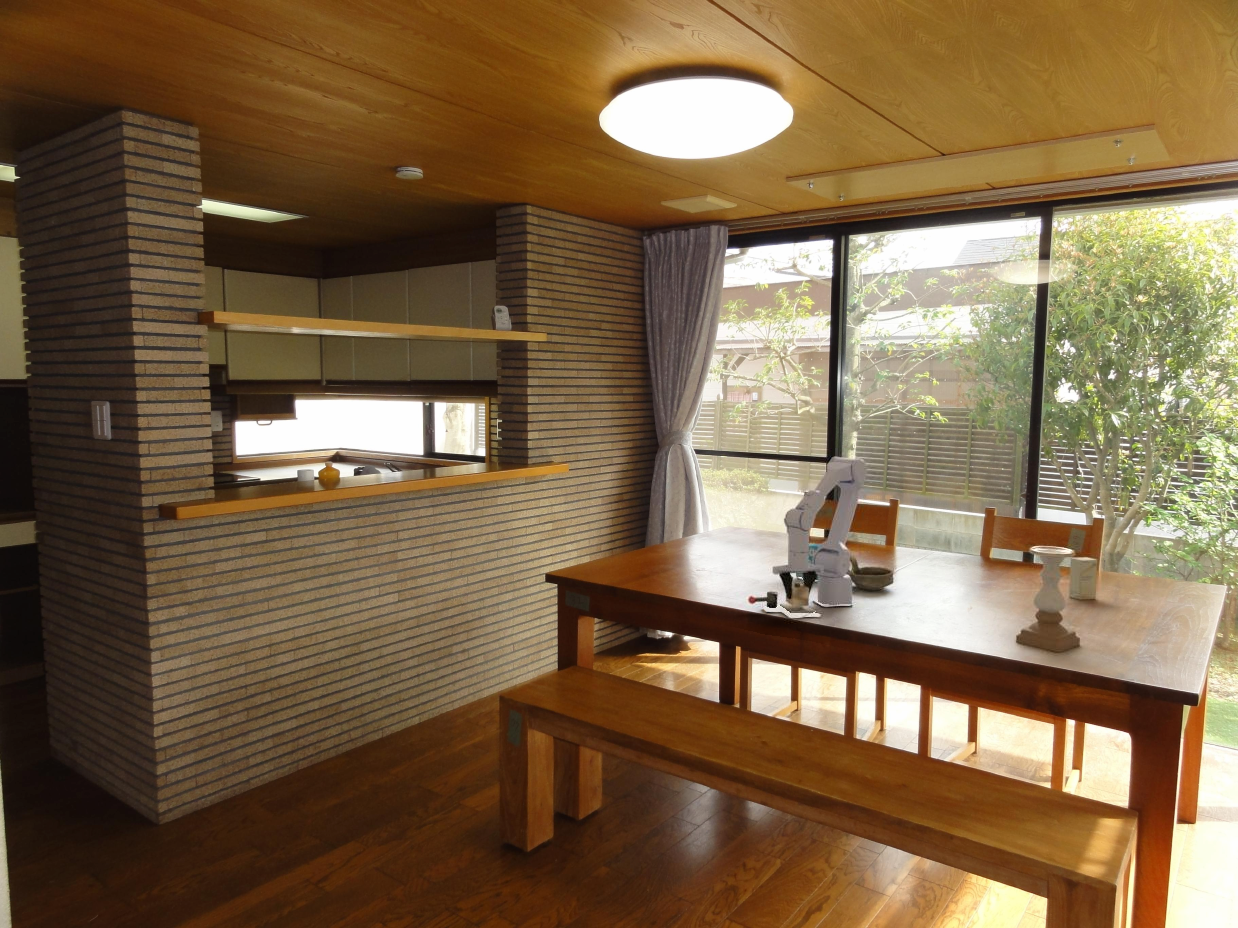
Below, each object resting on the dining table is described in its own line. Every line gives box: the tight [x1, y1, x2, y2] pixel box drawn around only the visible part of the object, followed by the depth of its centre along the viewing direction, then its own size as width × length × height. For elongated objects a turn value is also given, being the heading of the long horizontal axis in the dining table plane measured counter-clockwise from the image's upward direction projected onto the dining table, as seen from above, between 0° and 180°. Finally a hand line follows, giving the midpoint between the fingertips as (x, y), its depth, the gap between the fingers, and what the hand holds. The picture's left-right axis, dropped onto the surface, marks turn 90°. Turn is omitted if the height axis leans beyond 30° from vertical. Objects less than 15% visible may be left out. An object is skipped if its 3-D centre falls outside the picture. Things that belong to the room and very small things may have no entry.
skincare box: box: [1068, 556, 1098, 601], centre depth 252 cm, size 6×4×12 cm
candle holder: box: [1015, 545, 1081, 654], centre depth 206 cm, size 11×11×24 cm
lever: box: [747, 591, 778, 608], centre depth 237 cm, size 9×3×4 cm, turn 100°
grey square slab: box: [780, 603, 821, 614], centre depth 236 cm, size 13×12×2 cm
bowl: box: [846, 554, 895, 591], centre depth 265 cm, size 14×18×10 cm
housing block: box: [785, 582, 810, 606], centre depth 236 cm, size 5×6×6 cm
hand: (797, 597), depth 236 cm, fingers closed on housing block, 5 cm apart
